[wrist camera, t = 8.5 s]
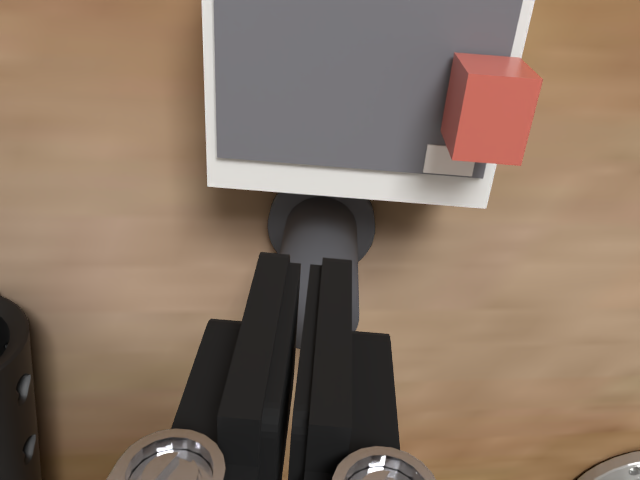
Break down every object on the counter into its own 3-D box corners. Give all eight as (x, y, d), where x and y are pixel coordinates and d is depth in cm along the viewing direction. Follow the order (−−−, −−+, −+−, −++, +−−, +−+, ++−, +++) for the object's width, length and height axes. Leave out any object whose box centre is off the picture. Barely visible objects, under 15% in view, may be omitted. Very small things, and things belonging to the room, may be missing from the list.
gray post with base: (380, 176, 33) (389, 264, 25) (368, 268, 36) (373, 372, 28) (271, 168, 33) (246, 253, 25) (268, 260, 36) (245, 362, 28)
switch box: (501, -62, 27) (550, -49, 20) (459, 148, 32) (488, 213, 25) (233, -83, 27) (196, -76, 20) (234, 130, 32) (205, 190, 25)
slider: (519, 57, 22) (542, 79, 19) (501, 135, 23) (520, 165, 21) (454, 52, 22) (468, 73, 19) (440, 130, 23) (451, 160, 21)
